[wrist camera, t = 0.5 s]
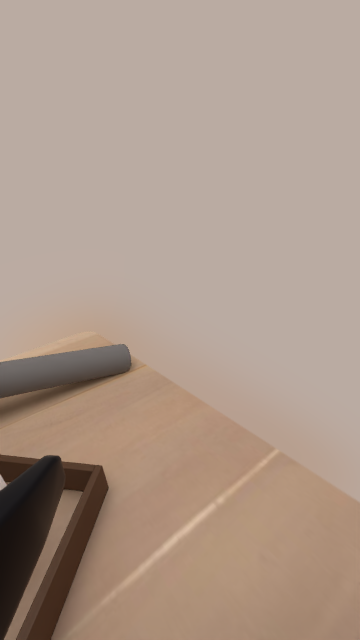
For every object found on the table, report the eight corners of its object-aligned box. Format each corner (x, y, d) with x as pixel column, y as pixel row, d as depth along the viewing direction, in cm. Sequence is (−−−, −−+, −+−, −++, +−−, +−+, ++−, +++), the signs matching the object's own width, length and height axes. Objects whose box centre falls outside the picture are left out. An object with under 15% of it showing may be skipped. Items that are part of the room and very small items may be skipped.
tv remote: (-43, 369, 31) (-47, 364, 29) (123, 344, 41) (126, 339, 39) (-42, 407, 29) (-45, 404, 28) (130, 371, 39) (133, 368, 38)
